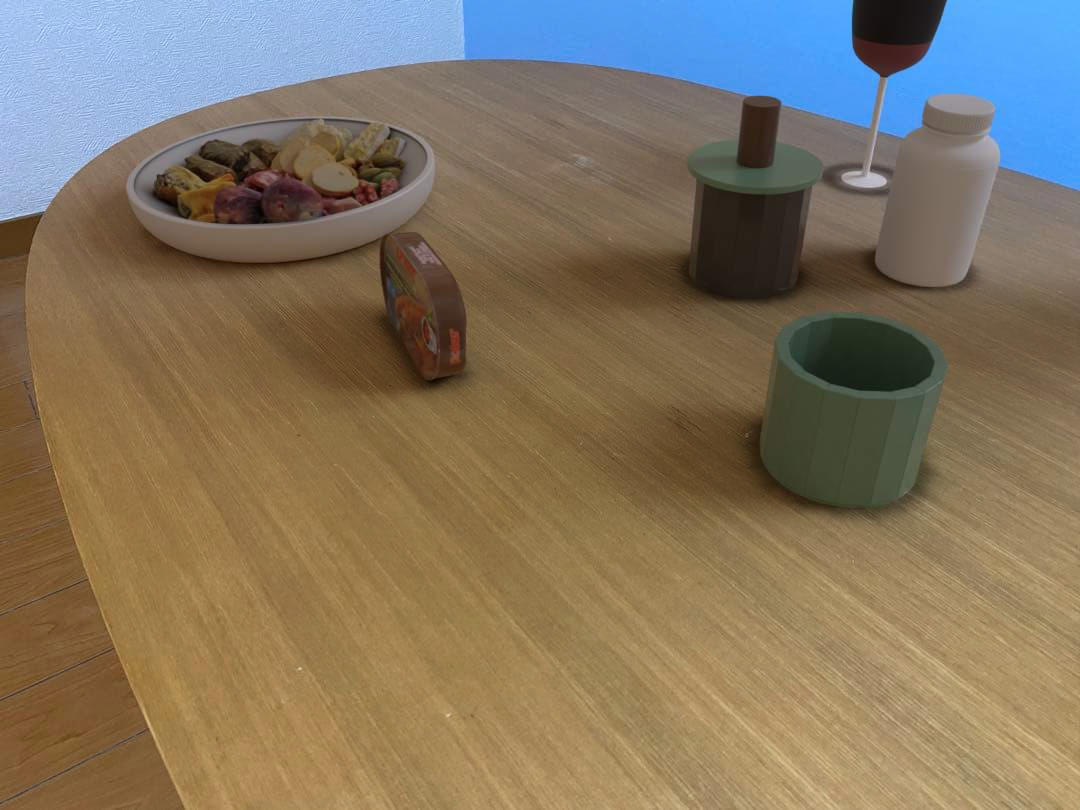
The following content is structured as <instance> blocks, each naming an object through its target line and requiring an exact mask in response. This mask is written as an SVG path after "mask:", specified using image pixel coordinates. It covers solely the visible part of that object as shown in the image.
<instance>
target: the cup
mask: <svg viewBox="0 0 1080 810" xmlns="http://www.w3.org/2000/svg"><path fill="white" fill-rule="evenodd" d="M812 190H813V185H812V186H810V187H808V188H806V189H803V190H799V191H795V192H790V193H782V194H747V193H738V192H732V191H727V190H723V189H719V188H716V187H713V186H710V185H707V184H705V183H703V182H701V181H699V180H697V179H696V181H695V193H694V194H695V195H694V203H693V217H692V228H691V240H690V253H689V261H688V262H689V264H688V274H689V277H690V278H691V280H692V281H693V283H694V284H696V285H697V286H698V287H700V288H701V289H703V290H704V291H706V292H709V293H711V294H715V295H718V296H721V297H725V298H730V299H736V300H737V299H738V300H763V299H771V298H774V297H778V296H782V295H784V294H786V293H787V292H789V291H790V290H791V289H793V288H794V287H795V285H796V284H797V279H798V277H799V271H800V265H801V259H802V253H803V246H804V241H805V234H806V229H807V228H806V227H807V222H808V215H809V210H810V203H811V197H812V192H813V191H812Z"/></svg>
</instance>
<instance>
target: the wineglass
mask: <svg viewBox="0 0 1080 810" xmlns="http://www.w3.org/2000/svg"><path fill="white" fill-rule="evenodd" d="M947 2H948V0H852V8H851V45H852V50H853V52H854V55H855V56H856V57H857V59H858V60H859V61H860V62H861V63H863V65H865V66H866V67H868V68H869V69H871V70H872V71H873V72H875V73H876V74H877V75H878V76H879V80H878V86H877V91H876V96H875V101H874V107H873V112H872V117H871V122H870V127H869V132H868V138H867V143H866V148H865V153H864V157H863V163H862V169H861V170H855V171H848V172H845V173H843V174H842V175H841V177H840V178H841V180H842V181H843V182H844V183H845V184H848V185H849V186H853V187H856V188H865V189H866V188H867V189H868V188H869V189H873V188H874V189H875V188H880V187H883V186H885V185H886V184H887V182H888V181H887V178H885V177H884V176H883V175H880V174H878V173H875V172H872V171H870V170H871V164H872V160H873V155H874V149H875V146H876V145H875V144H876V140H877V136H878V135H877V134H878V130H879V124H880V119H881V114H882V110H883V105H884V99H885V94H886V89H887V84H888V79H889V77H890V76H892V75H895V74H897V73H900V72H903V71H905V70H908V69H910V68H912V67H913V66H916V65H917V64H918V63H920V62H921V61H923V59H924V57H925V56H926V55H927V53H928V52H929V50H930V47H932V43H933V41H934V39H935V36H936V34H937V32H938V29H939V27H940V24H941V21H942V18H943V14H944V11H945V8H946V5H947Z"/></svg>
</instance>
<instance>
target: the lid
mask: <svg viewBox="0 0 1080 810" xmlns="http://www.w3.org/2000/svg"><path fill="white" fill-rule="evenodd" d="M741 106H742V107H741V116H740V124H739V134H738V139H726V140H719V141H714V142H710V143H706V144H703V145H701V146H698V147H697V148H695V149H694V150H693V151H691V152H690V154H688V157H687V162H686V163H687V164H686V165H687V166H686V167H687V170H688V173H689V174H690V175H691V176H692V177H693V178H694V179H696V181H697V180H699V181H701V182H703V183H705V184H707V185H710V186H713V187H716V188H719V189H723V190H727V191H732V192H738V193H747V194H782V193H790V192H795V191H799V190H803V189H806V188H808V187H810V186H812V187H813V186H814V185H815V184H817V183H818V182H819V181H820V180H821V179H822V176H823V174H824V173H823V172H824V165H823V162H822V160H821V159H820V158H819V157H818V156H817V155H815V154H814V153H812V152H810V151H809V150H806V149H804V148H802V147H798V146H796V145H792V144H789V143H785V142H779V141H777V140H778V133H779V130H778V129H779V124H780V117H781V109H782V101H781V99H779V98H778V97H775V96H769V95H750V96H747V97H745V98H743V100H742V105H741Z"/></svg>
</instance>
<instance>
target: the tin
mask: <svg viewBox="0 0 1080 810" xmlns="http://www.w3.org/2000/svg"><path fill="white" fill-rule="evenodd" d="M380 241H381V242H380V246H379V275H380V281H381V288H382V294H383V300H384V306H385V310H386V313H387V317H388V320H389V322H390V324H391V325H392V326H393V327H394V329H396V331H397V333H398V335H399V337H400V339H401V341H402V343H403V344H404V346H405V348H406V349H407V351H408V353H409V355H410V356H411V359H412V361H413V362H414V364H415V365H416V367H417V369H418V370H419V372H420V374H421V375H422V377H423V379H425V380H427V381H433V380H434V379H439V378H444V377H450V376H454V375H458V374H459V373H461V372H463V371H464V369H465V368H466V365H467V325H468V324H467V323H468V321H467V320H468V319H467V312H466V308H465V307H466V306H465V302H464V299H463V294H462V291H461V289H460V286H459V284H458V282H457V280H456V277H455V276H454V274H453V273H452V271H451V270H450V269H449V268H448V267H447V265H446V263H445V262H444V261H443V260H442V259H441V258H440V256H439V254H438V253H437V252H436V251H435V250H434V249H433V247H432V246H431V245H430V244H429V242H427V240H426V239H425V238H424V237H423V235H421V234H420V233H419V232H415V231H409V232H407V231H405V232H398V233H386V234H385V235H384V236H383V237H381V240H380Z"/></svg>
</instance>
